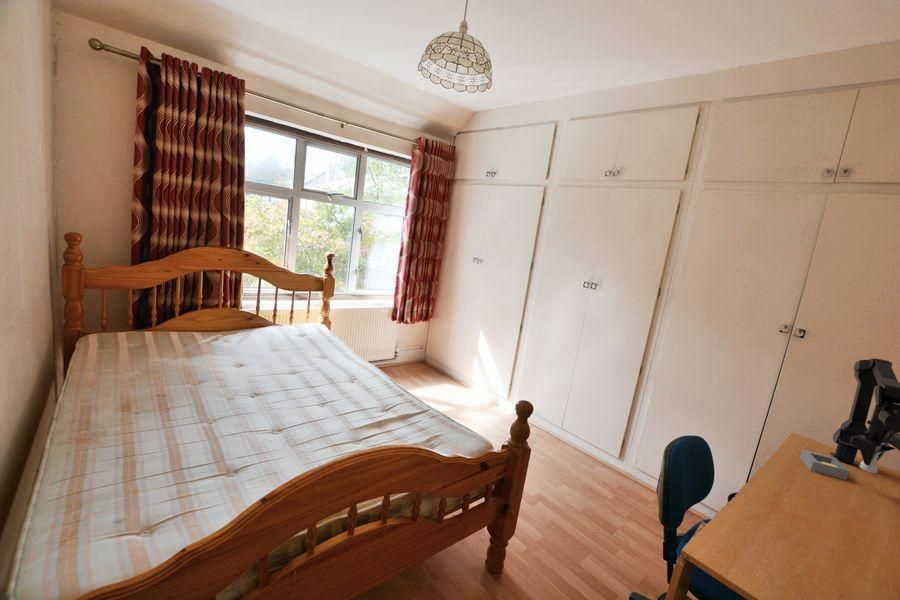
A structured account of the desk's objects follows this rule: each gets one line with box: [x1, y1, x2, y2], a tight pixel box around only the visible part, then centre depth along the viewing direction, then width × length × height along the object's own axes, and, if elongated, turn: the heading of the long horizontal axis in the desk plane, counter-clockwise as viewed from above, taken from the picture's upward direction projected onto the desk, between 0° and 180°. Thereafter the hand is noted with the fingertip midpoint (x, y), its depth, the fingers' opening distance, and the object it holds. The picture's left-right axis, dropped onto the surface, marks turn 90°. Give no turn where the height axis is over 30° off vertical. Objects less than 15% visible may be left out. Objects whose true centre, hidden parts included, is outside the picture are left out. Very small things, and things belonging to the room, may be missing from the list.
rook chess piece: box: [858, 452, 881, 474], centre depth 135 cm, size 4×4×8 cm
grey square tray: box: [799, 448, 850, 481], centre depth 146 cm, size 10×10×4 cm
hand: (869, 464), depth 135 cm, fingers closed on rook chess piece, 3 cm apart
